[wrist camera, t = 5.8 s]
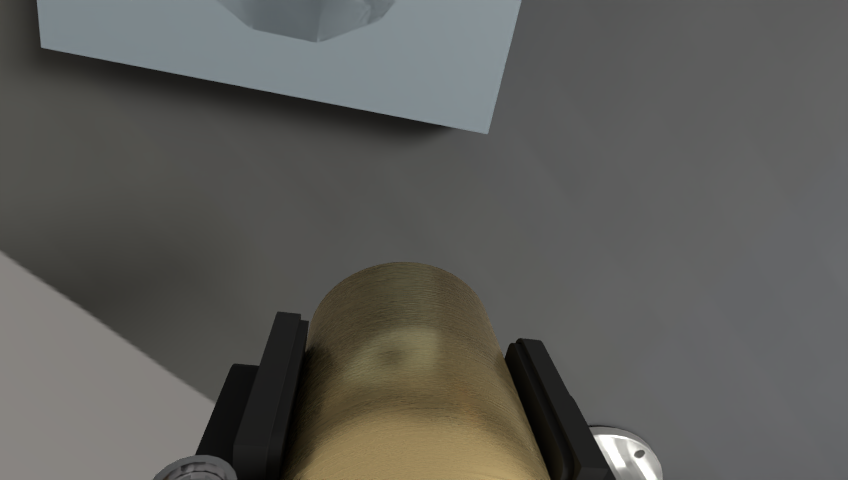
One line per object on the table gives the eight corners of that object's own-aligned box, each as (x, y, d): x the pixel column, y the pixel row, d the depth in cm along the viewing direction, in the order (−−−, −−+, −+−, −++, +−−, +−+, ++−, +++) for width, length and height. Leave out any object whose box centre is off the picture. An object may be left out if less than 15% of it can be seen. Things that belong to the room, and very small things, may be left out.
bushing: (510, 275, 13) (692, 614, 5) (467, 418, 15) (559, 808, 7) (318, 249, 12) (233, 609, 5) (300, 405, 14) (219, 829, 7)
